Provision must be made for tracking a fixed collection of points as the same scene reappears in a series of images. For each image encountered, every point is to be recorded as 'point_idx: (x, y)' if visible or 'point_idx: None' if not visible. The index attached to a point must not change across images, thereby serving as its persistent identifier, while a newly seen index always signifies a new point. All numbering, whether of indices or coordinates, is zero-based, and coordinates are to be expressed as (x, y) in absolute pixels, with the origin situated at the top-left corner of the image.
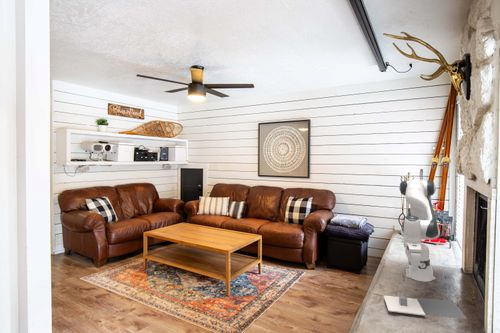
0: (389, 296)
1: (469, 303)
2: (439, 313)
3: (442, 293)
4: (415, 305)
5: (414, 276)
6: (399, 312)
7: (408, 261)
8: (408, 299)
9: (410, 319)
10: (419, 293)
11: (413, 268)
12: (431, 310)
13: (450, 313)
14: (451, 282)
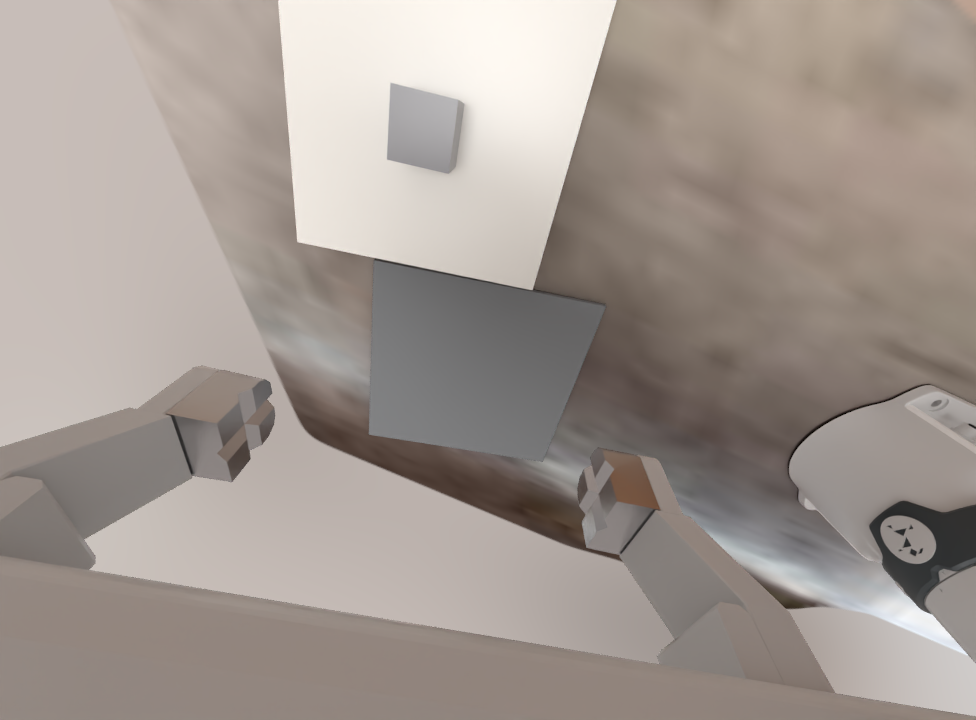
0: (591, 44)
1: (527, 503)
2: (399, 346)
3: None
4: (426, 233)
5: (873, 427)
6: (285, 21)
7: (668, 506)
8: (524, 222)
9: (280, 117)
10: (663, 356)
11: (145, 425)
12: (428, 320)
13: (410, 395)
14: (738, 537)
